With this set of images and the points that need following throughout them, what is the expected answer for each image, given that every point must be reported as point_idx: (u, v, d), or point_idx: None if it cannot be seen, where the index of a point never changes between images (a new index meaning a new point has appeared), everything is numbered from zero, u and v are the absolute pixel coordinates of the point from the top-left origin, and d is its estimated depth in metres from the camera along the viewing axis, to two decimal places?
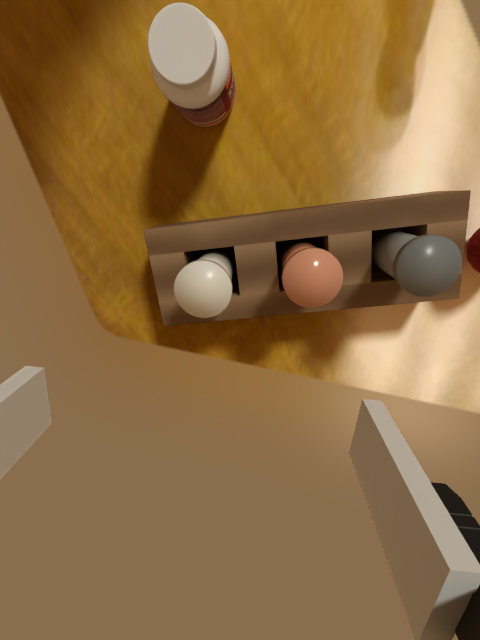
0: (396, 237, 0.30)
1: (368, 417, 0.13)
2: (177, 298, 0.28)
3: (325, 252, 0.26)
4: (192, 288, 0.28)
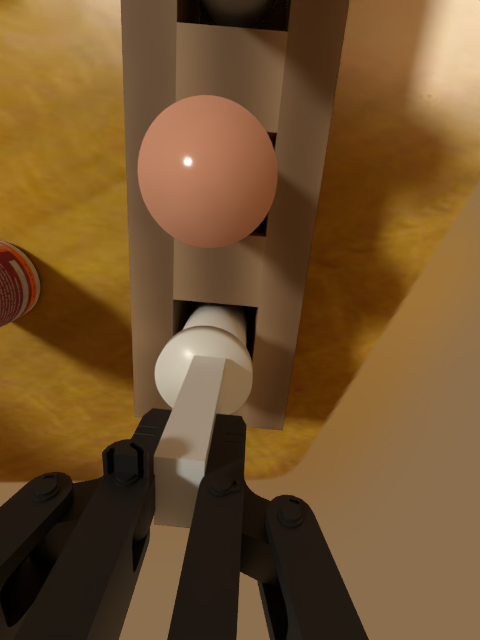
0: None
1: (206, 369, 0.15)
2: None
3: (147, 136, 0.11)
4: None
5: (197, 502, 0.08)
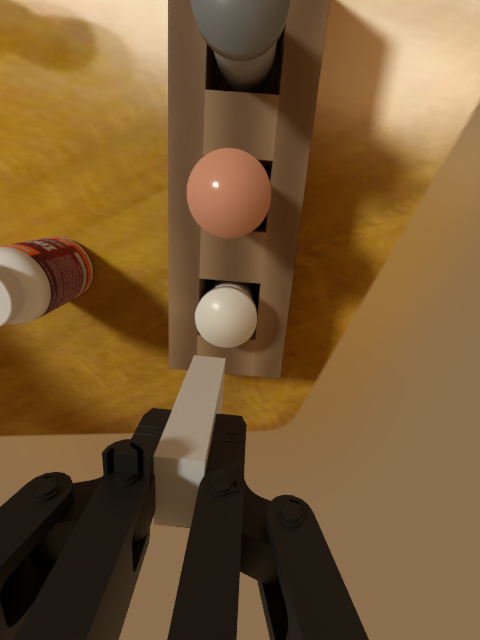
0: None
1: (206, 369, 0.15)
2: (229, 346, 0.27)
3: (193, 171, 0.19)
4: (221, 328, 0.26)
5: (197, 502, 0.08)
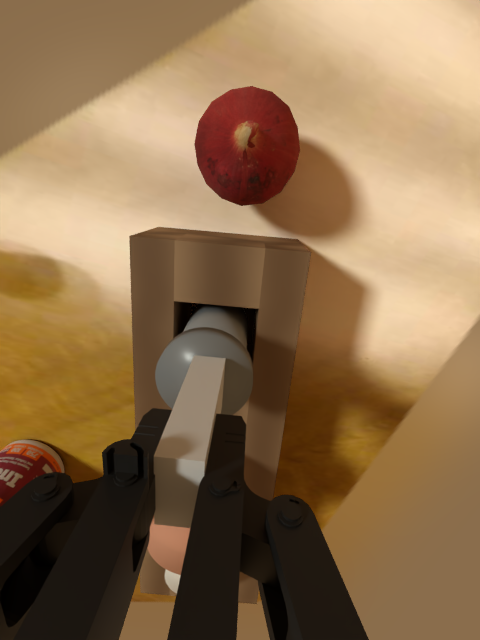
0: None
1: (206, 369, 0.15)
2: None
3: (153, 528, 0.17)
4: None
5: (197, 502, 0.08)
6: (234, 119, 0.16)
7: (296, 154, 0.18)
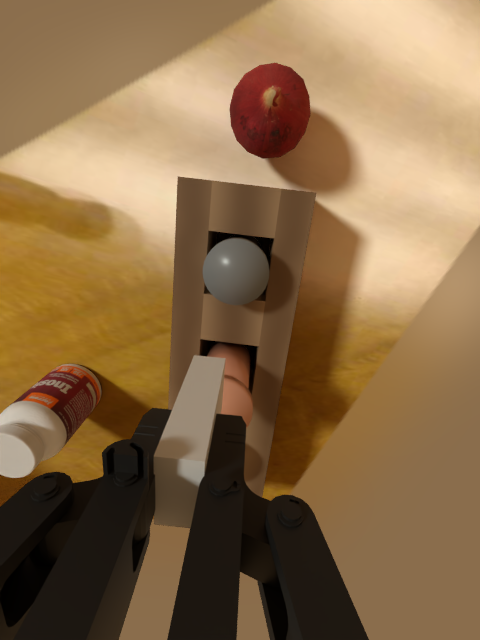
0: None
1: (206, 369, 0.15)
2: None
3: None
4: None
5: (197, 502, 0.08)
6: (263, 85, 0.21)
7: (307, 116, 0.23)
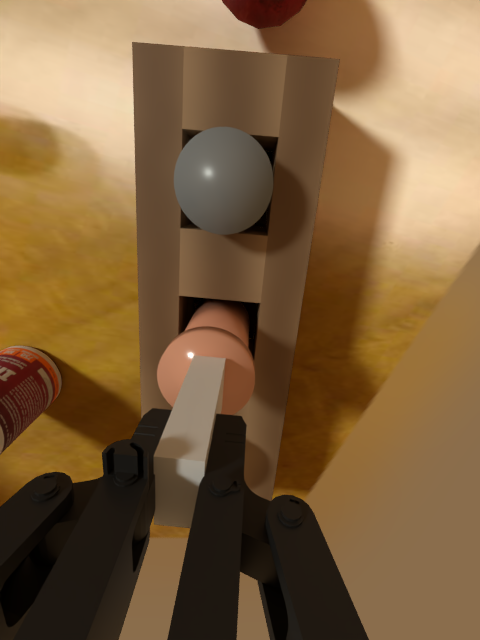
0: None
1: (206, 369, 0.15)
2: None
3: (164, 355, 0.16)
4: None
5: (197, 502, 0.08)
6: None
7: None
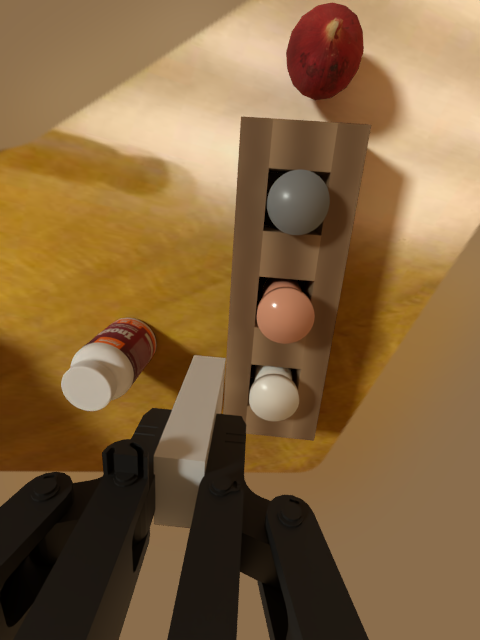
0: None
1: (206, 369, 0.15)
2: (276, 420, 0.33)
3: (262, 303, 0.28)
4: (270, 407, 0.33)
5: (197, 502, 0.08)
6: (324, 20, 0.23)
7: (361, 52, 0.25)
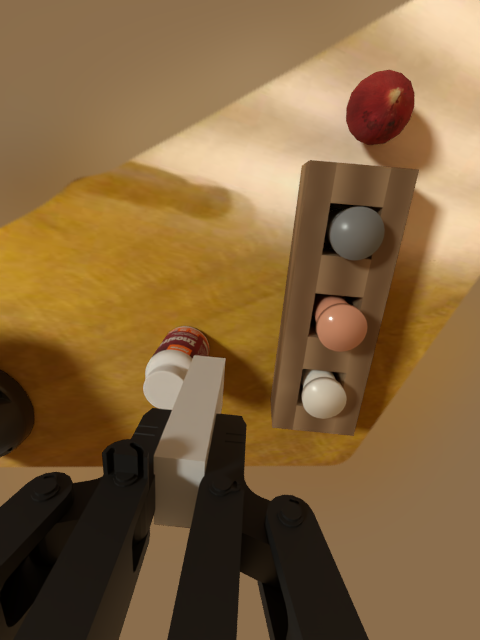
0: (326, 235, 0.36)
1: (206, 369, 0.15)
2: (325, 417, 0.38)
3: (323, 317, 0.33)
4: (320, 406, 0.37)
5: (197, 502, 0.08)
6: (386, 87, 0.28)
7: (412, 110, 0.30)
